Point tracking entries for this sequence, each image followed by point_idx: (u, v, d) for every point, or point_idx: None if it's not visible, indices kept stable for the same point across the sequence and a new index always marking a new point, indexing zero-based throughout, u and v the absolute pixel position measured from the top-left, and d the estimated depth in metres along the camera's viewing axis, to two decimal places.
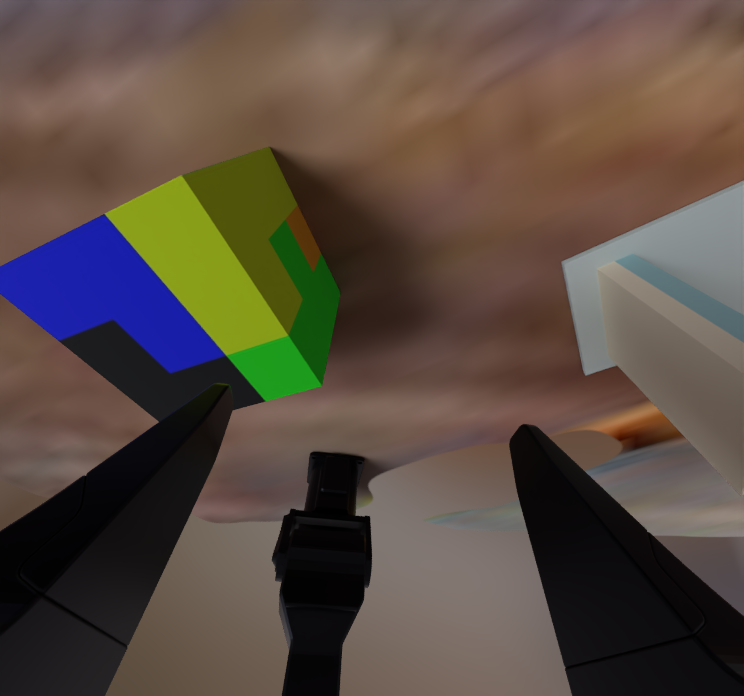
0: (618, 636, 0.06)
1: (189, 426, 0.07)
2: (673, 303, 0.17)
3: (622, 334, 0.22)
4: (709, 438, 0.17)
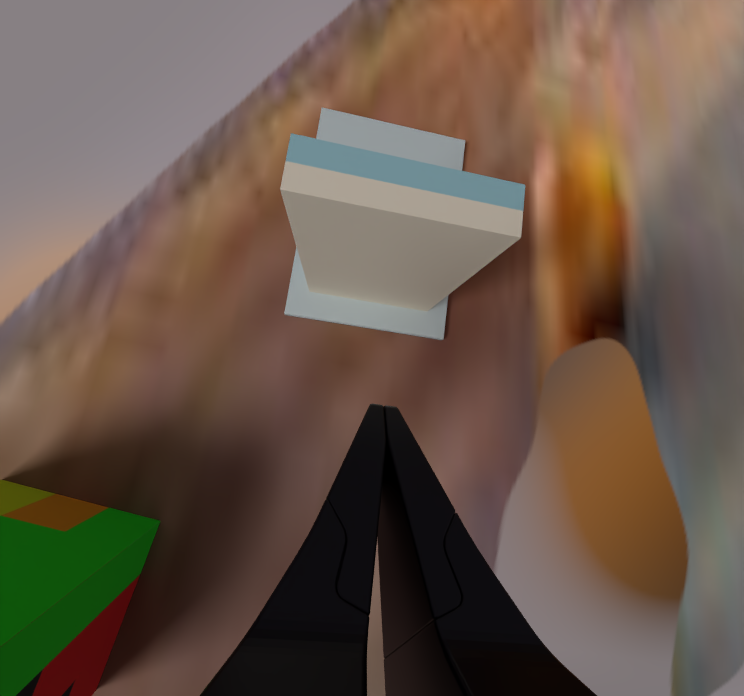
0: (405, 623, 0.06)
1: (378, 449, 0.07)
2: None
3: (373, 292, 0.21)
4: (441, 251, 0.13)
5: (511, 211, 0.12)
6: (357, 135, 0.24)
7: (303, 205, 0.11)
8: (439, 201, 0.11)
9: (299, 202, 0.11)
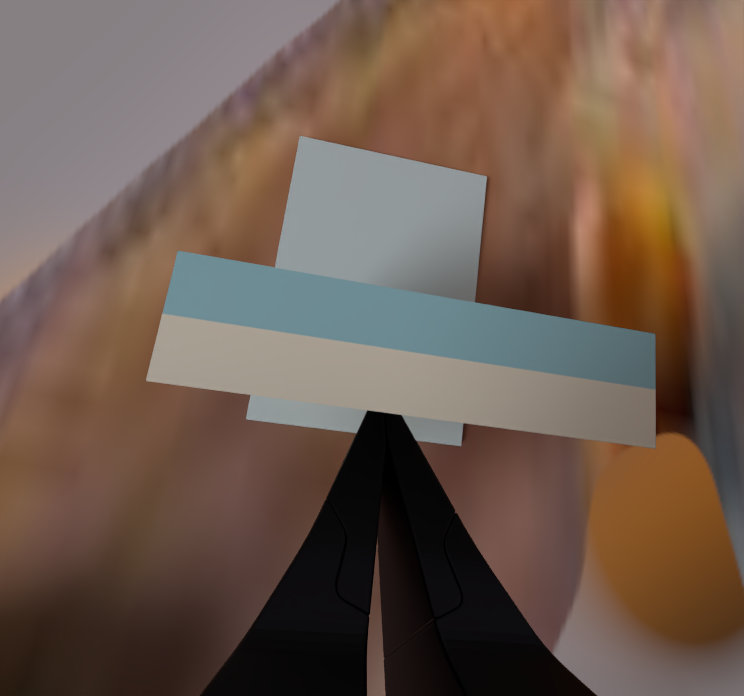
0: (405, 623, 0.06)
1: (378, 449, 0.07)
2: None
3: None
4: None
5: (633, 392, 0.06)
6: (346, 172, 0.19)
7: None
8: (491, 382, 0.05)
9: None
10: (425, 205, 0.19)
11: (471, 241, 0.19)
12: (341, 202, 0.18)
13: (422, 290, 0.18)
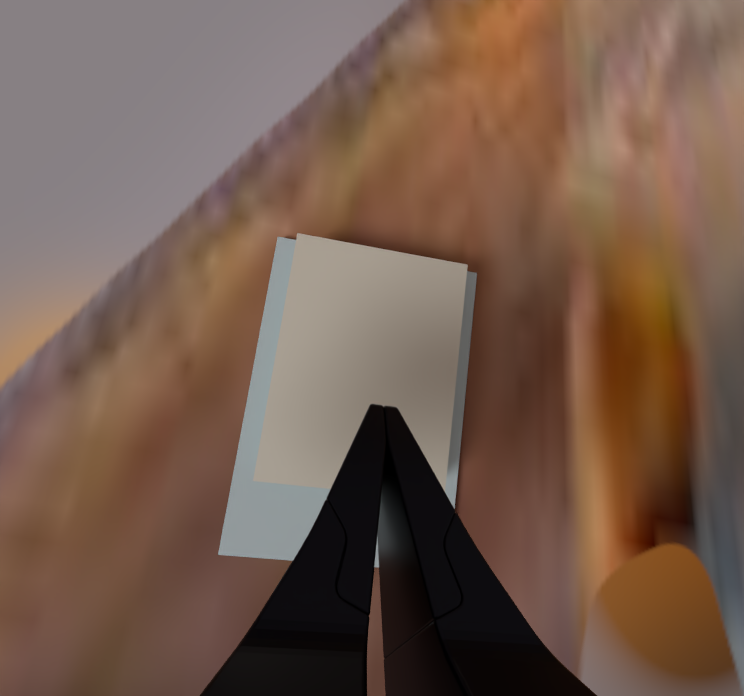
0: (405, 623, 0.06)
1: (378, 449, 0.07)
2: None
3: None
4: (420, 296, 0.16)
5: None
6: None
7: (309, 249, 0.15)
8: None
9: (307, 246, 0.15)
10: None
11: (460, 345, 0.18)
12: None
13: None
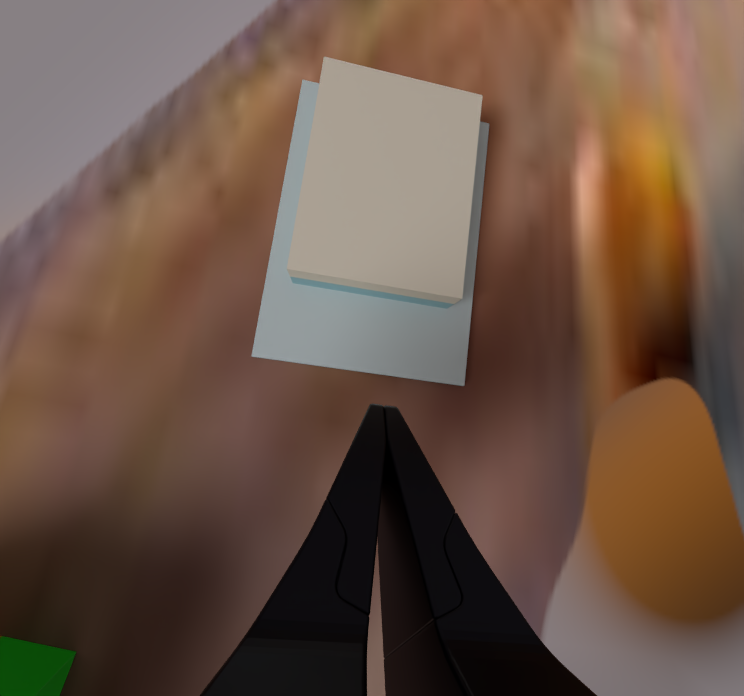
0: (405, 623, 0.06)
1: (378, 449, 0.07)
2: None
3: (383, 240, 0.16)
4: (438, 120, 0.17)
5: None
6: None
7: (335, 72, 0.16)
8: None
9: (333, 68, 0.16)
10: None
11: (474, 187, 0.19)
12: None
13: None
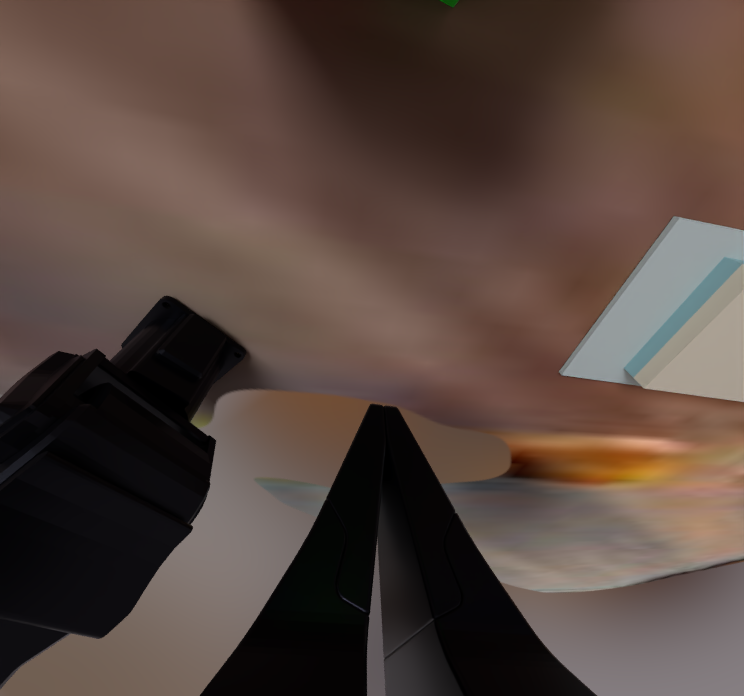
0: (405, 623, 0.06)
1: (378, 449, 0.07)
2: None
3: (726, 343, 0.19)
4: None
5: None
6: None
7: None
8: None
9: None
10: None
11: None
12: None
13: None
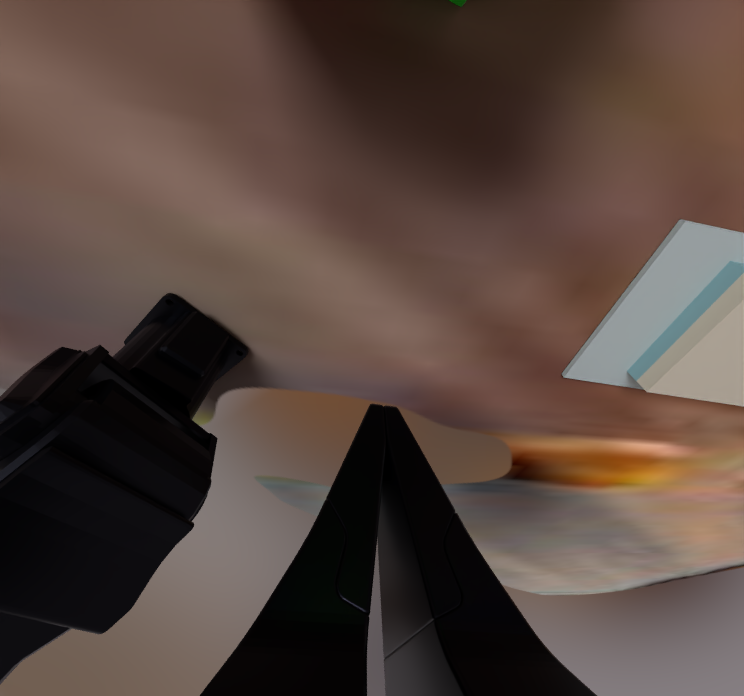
0: (405, 623, 0.06)
1: (378, 449, 0.07)
2: None
3: (731, 348, 0.19)
4: None
5: None
6: None
7: None
8: None
9: None
10: None
11: None
12: None
13: None
